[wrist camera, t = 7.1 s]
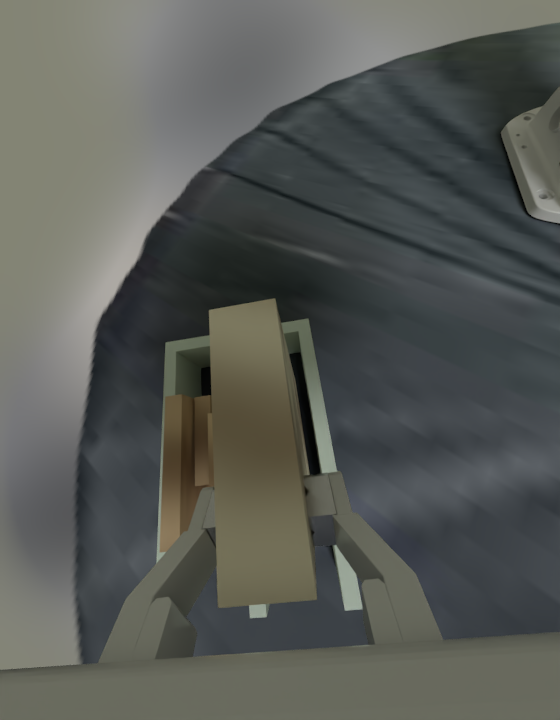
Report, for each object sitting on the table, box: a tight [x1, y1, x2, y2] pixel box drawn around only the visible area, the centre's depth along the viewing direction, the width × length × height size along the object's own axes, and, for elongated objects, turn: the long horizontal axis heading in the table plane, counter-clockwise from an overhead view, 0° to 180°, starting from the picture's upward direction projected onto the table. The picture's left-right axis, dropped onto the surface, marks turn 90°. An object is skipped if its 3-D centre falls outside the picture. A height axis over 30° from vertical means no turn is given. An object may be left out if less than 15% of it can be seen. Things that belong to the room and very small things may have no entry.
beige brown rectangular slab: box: [209, 298, 317, 608], centre depth 14 cm, size 9×3×14 cm, turn 7°
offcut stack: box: [159, 394, 214, 553], centre depth 18 cm, size 10×4×8 cm, turn 7°
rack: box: [157, 319, 362, 618], centre depth 20 cm, size 19×13×5 cm, turn 7°
